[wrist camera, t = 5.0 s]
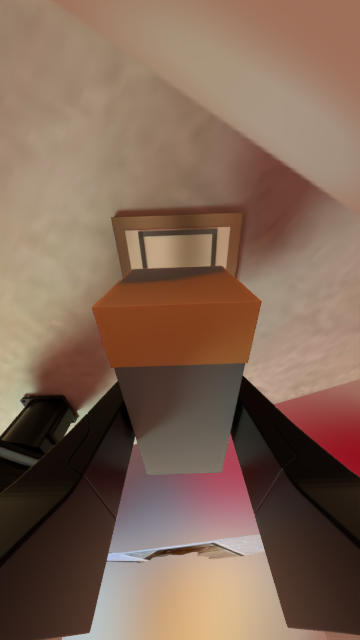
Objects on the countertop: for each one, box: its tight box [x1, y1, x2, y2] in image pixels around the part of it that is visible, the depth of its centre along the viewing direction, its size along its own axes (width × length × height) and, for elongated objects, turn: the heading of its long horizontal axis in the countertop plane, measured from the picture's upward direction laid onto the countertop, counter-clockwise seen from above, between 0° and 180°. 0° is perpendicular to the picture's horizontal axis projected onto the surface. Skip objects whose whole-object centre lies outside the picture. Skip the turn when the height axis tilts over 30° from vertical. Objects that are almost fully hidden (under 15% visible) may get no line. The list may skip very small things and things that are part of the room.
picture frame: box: [111, 212, 244, 277], centre depth 18 cm, size 11×15×1 cm
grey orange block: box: [92, 266, 262, 475], centre depth 8 cm, size 4×10×4 cm, turn 2°
